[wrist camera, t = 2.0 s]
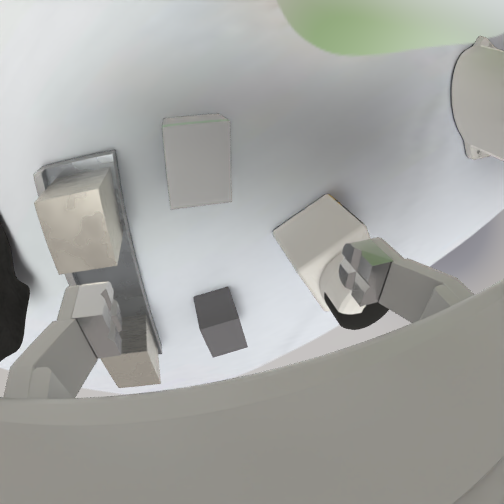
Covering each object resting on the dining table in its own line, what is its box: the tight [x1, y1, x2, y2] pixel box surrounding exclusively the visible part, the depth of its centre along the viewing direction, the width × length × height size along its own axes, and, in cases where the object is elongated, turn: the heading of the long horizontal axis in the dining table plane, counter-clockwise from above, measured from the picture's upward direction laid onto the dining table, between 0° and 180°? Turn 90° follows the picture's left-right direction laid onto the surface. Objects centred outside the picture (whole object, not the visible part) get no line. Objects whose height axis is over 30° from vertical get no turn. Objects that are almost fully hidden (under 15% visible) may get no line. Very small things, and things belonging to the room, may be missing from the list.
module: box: [162, 113, 232, 210], centre depth 22 cm, size 4×6×5 cm
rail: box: [33, 150, 162, 388], centre depth 25 cm, size 7×24×6 cm, turn 0°
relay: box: [194, 287, 248, 357], centre depth 32 cm, size 4×5×5 cm
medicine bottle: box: [273, 194, 389, 330], centre depth 27 cm, size 7×7×12 cm
